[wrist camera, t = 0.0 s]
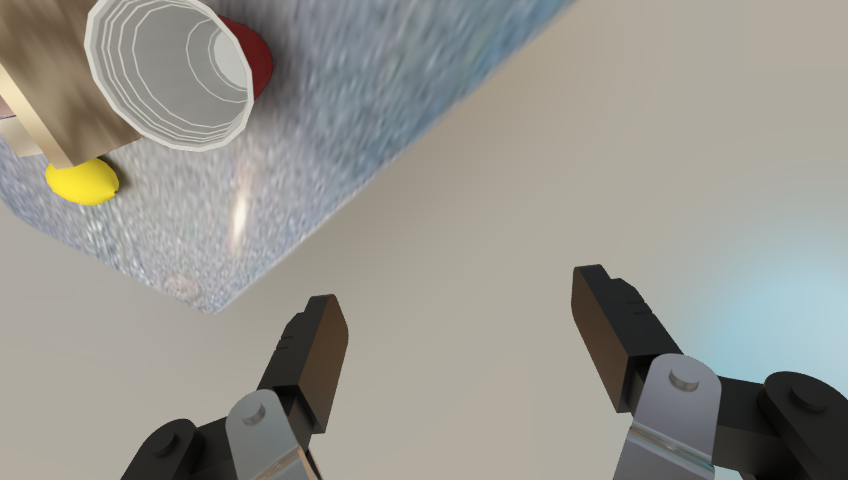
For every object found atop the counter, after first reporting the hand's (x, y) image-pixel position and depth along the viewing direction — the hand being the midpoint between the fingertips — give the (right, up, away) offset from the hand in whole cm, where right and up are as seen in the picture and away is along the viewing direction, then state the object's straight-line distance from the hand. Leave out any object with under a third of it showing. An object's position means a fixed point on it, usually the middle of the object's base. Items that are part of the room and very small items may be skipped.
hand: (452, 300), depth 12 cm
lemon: (-38, +10, +29) cm, 49 cm away
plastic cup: (-18, +20, +23) cm, 35 cm away
